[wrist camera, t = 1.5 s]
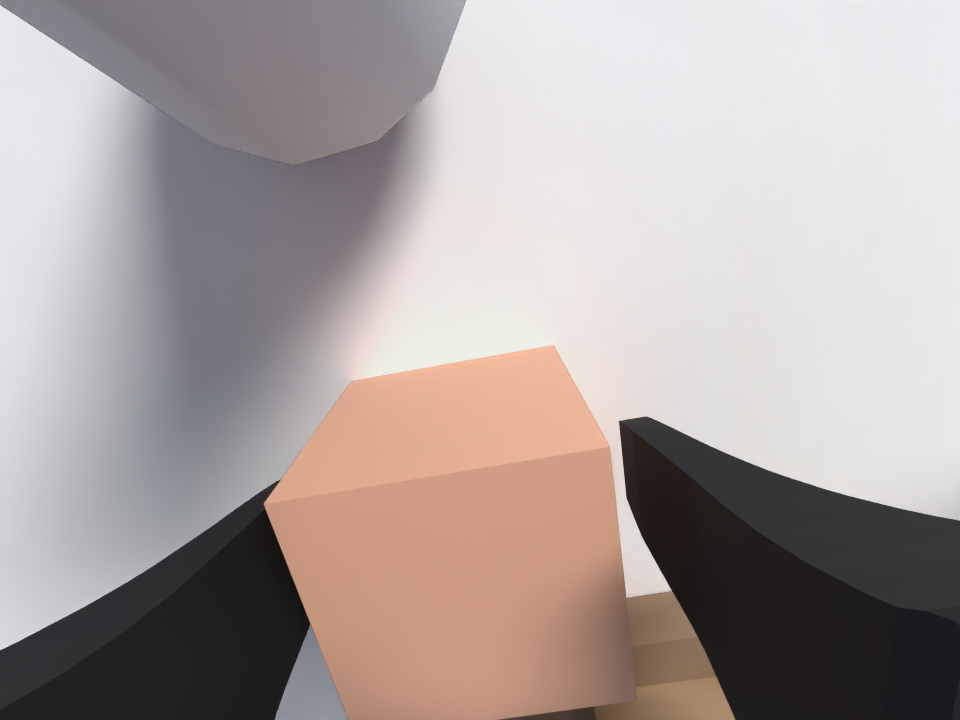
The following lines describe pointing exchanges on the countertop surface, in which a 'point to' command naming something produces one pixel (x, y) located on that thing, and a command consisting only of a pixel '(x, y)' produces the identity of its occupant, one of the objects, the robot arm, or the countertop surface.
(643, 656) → the base
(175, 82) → the salt shaker
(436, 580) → the cube
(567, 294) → the countertop surface
